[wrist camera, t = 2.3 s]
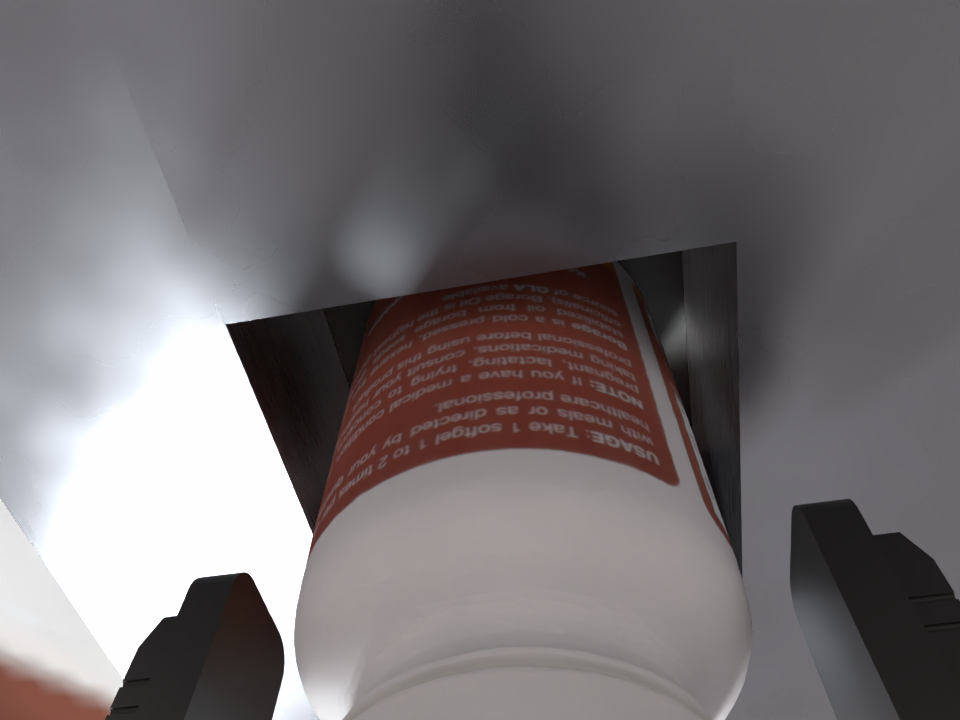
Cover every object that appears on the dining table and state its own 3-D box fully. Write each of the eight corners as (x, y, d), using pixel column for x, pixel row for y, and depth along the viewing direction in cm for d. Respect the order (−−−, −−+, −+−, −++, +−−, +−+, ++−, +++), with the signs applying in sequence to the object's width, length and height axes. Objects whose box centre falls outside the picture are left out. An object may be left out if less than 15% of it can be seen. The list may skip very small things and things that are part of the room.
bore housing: (-92, -17, 14) (-318, 32, 10) (1013, -265, 12) (1265, -325, 8) (256, 649, 23) (209, 805, 19) (900, 577, 21) (989, 736, 17)
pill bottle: (310, 345, 18) (99, 906, 8) (505, 146, 15) (521, 621, 6) (511, 493, 20) (525, 1068, 10) (709, 340, 17) (963, 911, 8)
